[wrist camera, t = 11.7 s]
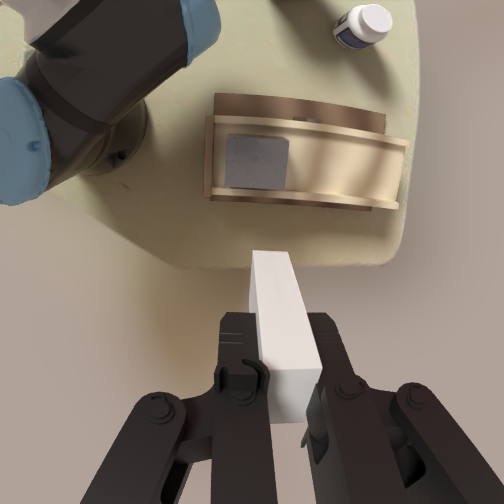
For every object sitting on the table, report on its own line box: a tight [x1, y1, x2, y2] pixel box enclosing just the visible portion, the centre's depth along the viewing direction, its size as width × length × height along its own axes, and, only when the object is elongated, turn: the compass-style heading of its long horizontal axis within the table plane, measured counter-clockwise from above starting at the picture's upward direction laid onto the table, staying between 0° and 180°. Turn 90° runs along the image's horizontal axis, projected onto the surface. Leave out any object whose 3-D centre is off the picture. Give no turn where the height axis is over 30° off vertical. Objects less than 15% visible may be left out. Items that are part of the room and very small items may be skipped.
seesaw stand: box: [210, 93, 386, 211], centre depth 38 cm, size 24×15×5 cm, turn 86°
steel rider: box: [224, 133, 289, 190], centre depth 30 cm, size 6×5×5 cm
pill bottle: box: [333, 4, 393, 50], centre depth 28 cm, size 5×5×10 cm
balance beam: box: [204, 115, 410, 209], centre depth 33 cm, size 24×10×4 cm, turn 86°
